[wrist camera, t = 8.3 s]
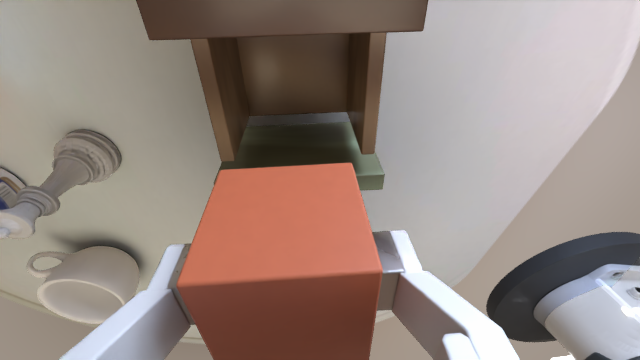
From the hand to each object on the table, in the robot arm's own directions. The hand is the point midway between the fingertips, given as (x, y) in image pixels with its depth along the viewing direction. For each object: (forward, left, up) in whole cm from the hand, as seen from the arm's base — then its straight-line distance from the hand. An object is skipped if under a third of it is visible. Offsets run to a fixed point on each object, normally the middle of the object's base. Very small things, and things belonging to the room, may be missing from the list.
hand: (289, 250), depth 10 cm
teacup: (+23, +18, -17) cm, 34 cm away
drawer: (0, 0, -16) cm, 16 cm away
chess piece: (+18, +5, -17) cm, 25 cm away
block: (0, 0, -2) cm, 2 cm away
